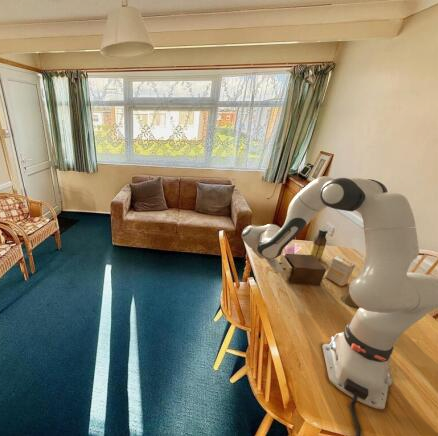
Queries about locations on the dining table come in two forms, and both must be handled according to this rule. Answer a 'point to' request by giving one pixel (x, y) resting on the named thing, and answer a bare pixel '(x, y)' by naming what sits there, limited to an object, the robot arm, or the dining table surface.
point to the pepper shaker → (349, 300)
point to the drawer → (286, 267)
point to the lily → (291, 249)
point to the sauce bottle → (319, 244)
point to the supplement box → (340, 270)
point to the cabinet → (306, 269)
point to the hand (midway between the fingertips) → (278, 266)
